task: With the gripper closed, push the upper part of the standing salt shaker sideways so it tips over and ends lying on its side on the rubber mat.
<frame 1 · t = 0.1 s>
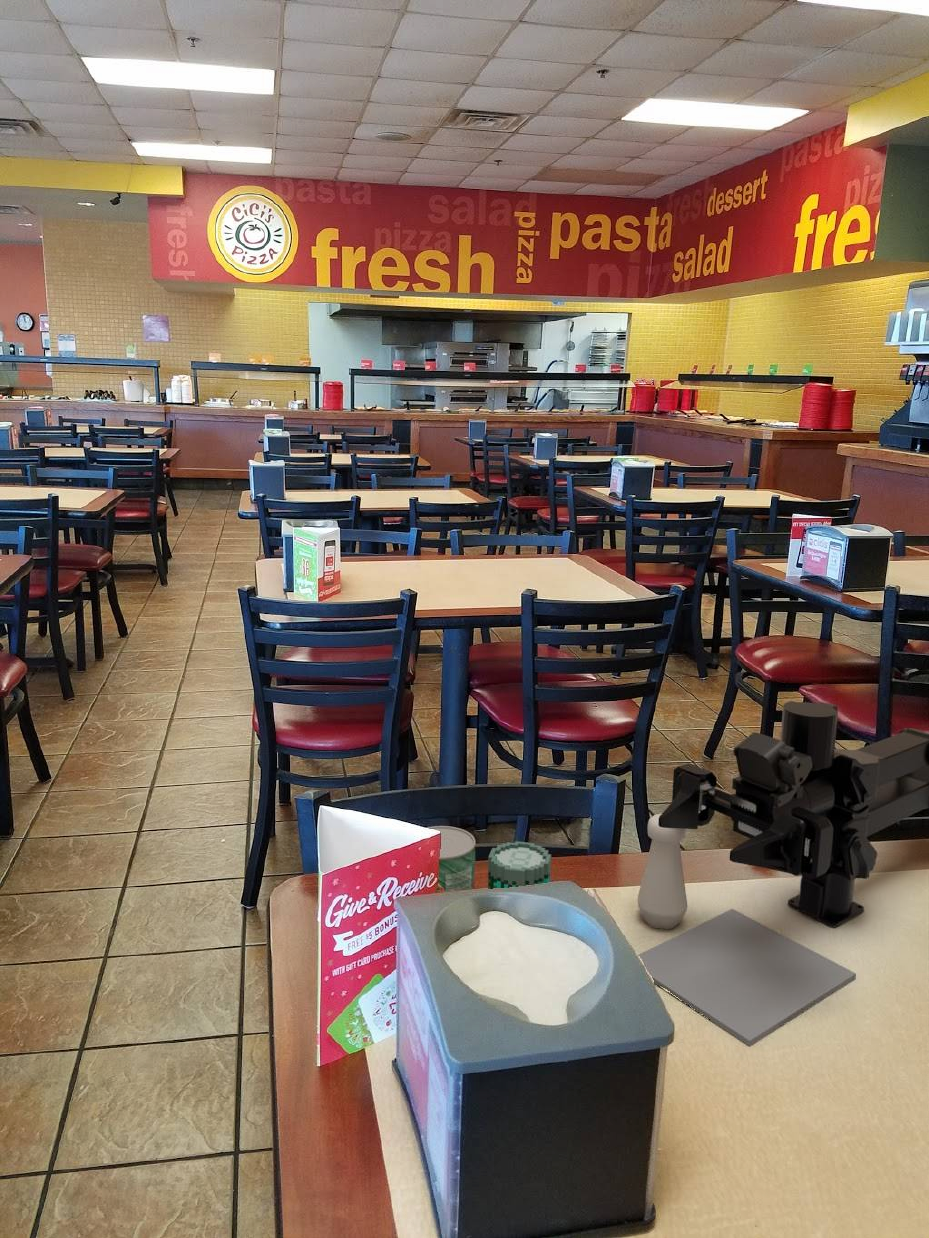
hand: (693, 838, 92), 17 cm above the table, tool horizontal, fingers open, 9 cm apart
salt shaker: (661, 921, 108), on the table
canned tomato: (441, 929, 106), on the table
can: (517, 988, 95), on the table
mat: (739, 971, 98), on the table
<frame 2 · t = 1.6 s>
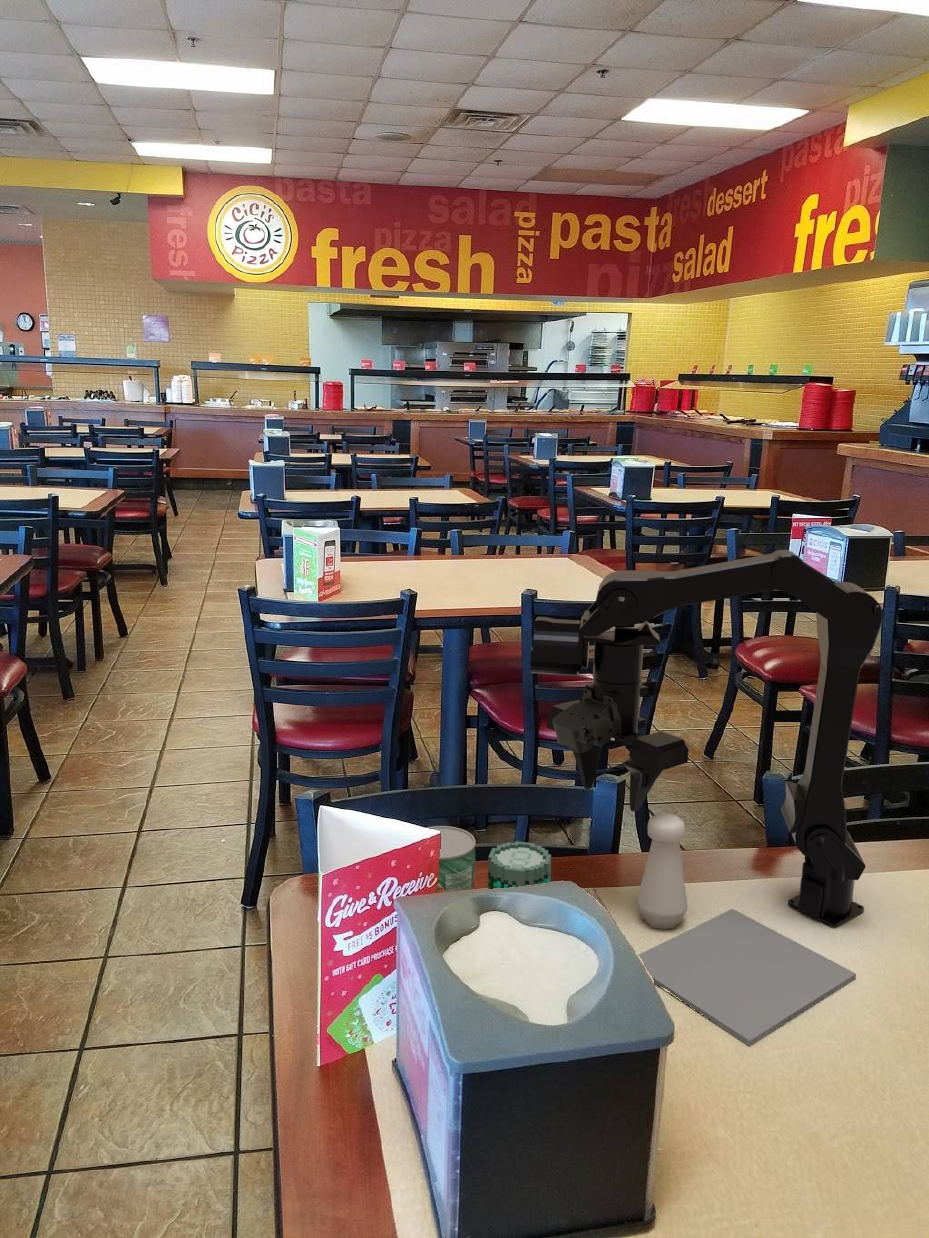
hand: (610, 799, 112), 12 cm above the table, tool pointing down, fingers open, 8 cm apart
nothing on the table moved.
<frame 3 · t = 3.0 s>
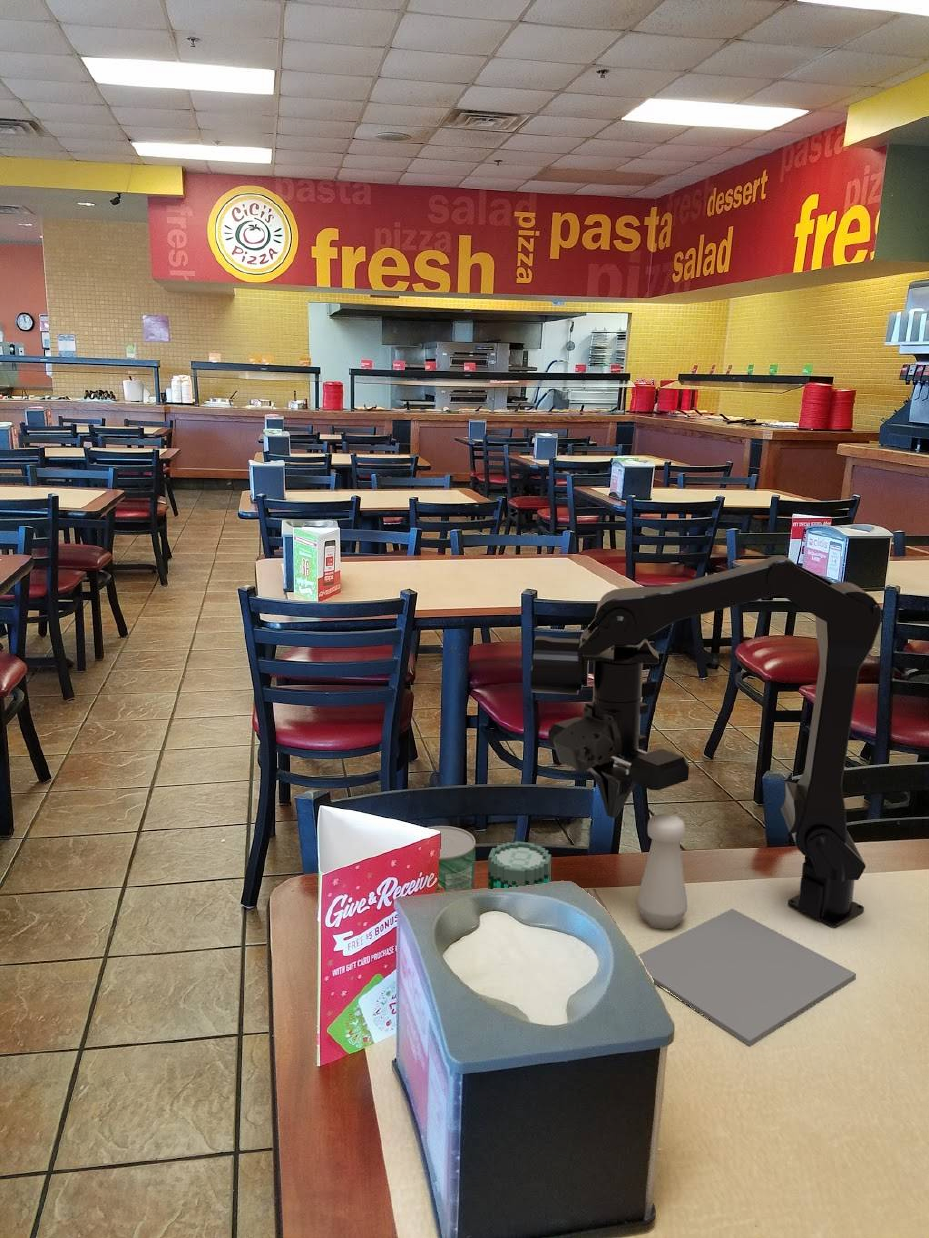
hand: (612, 816, 112), 10 cm above the table, tool pointing down, fingers closed
nothing on the table moved.
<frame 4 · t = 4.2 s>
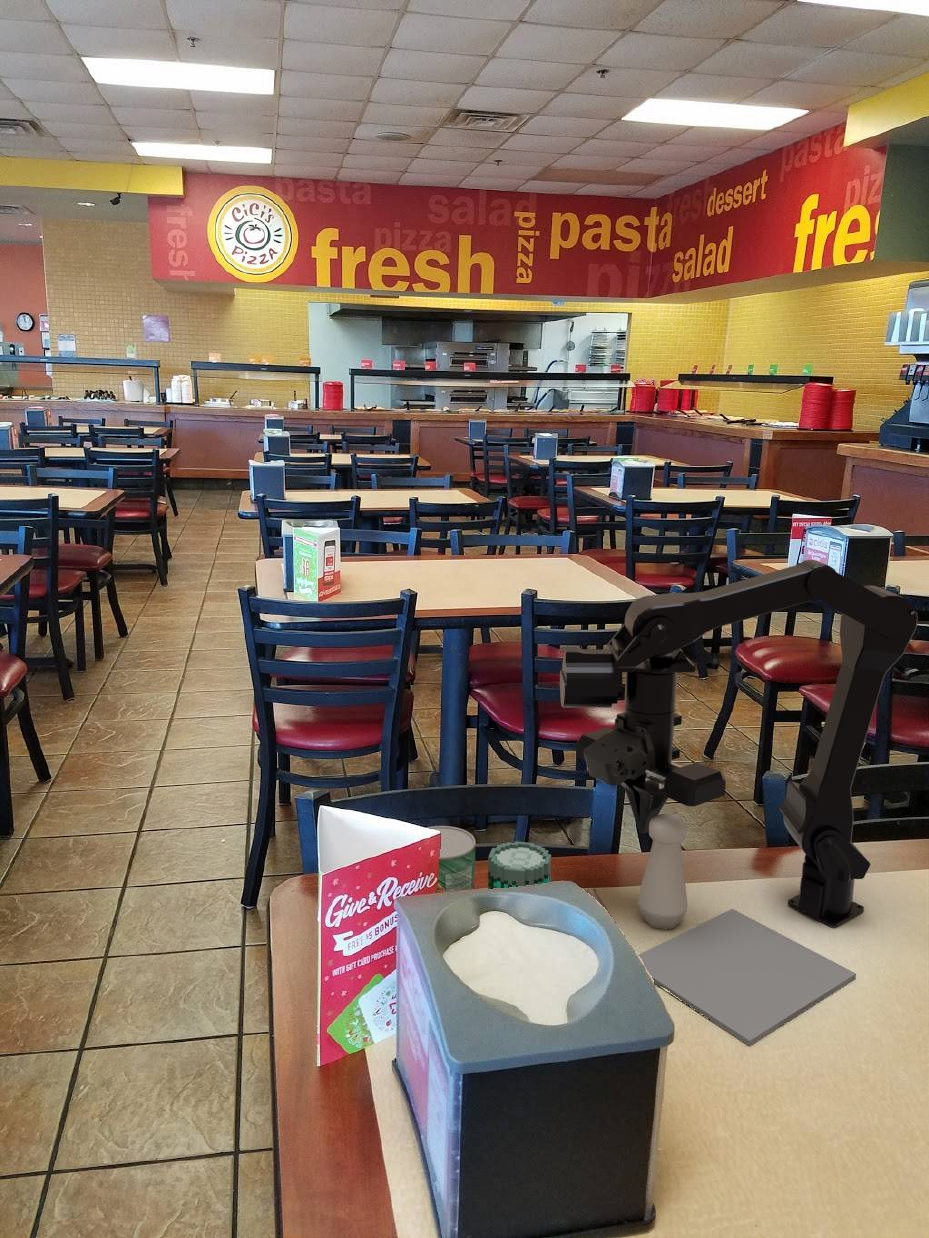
hand: (643, 831, 108), 10 cm above the table, tool pointing down, fingers closed
salt shaker: (661, 921, 108), on the table, touching gripper
everything else where it was.
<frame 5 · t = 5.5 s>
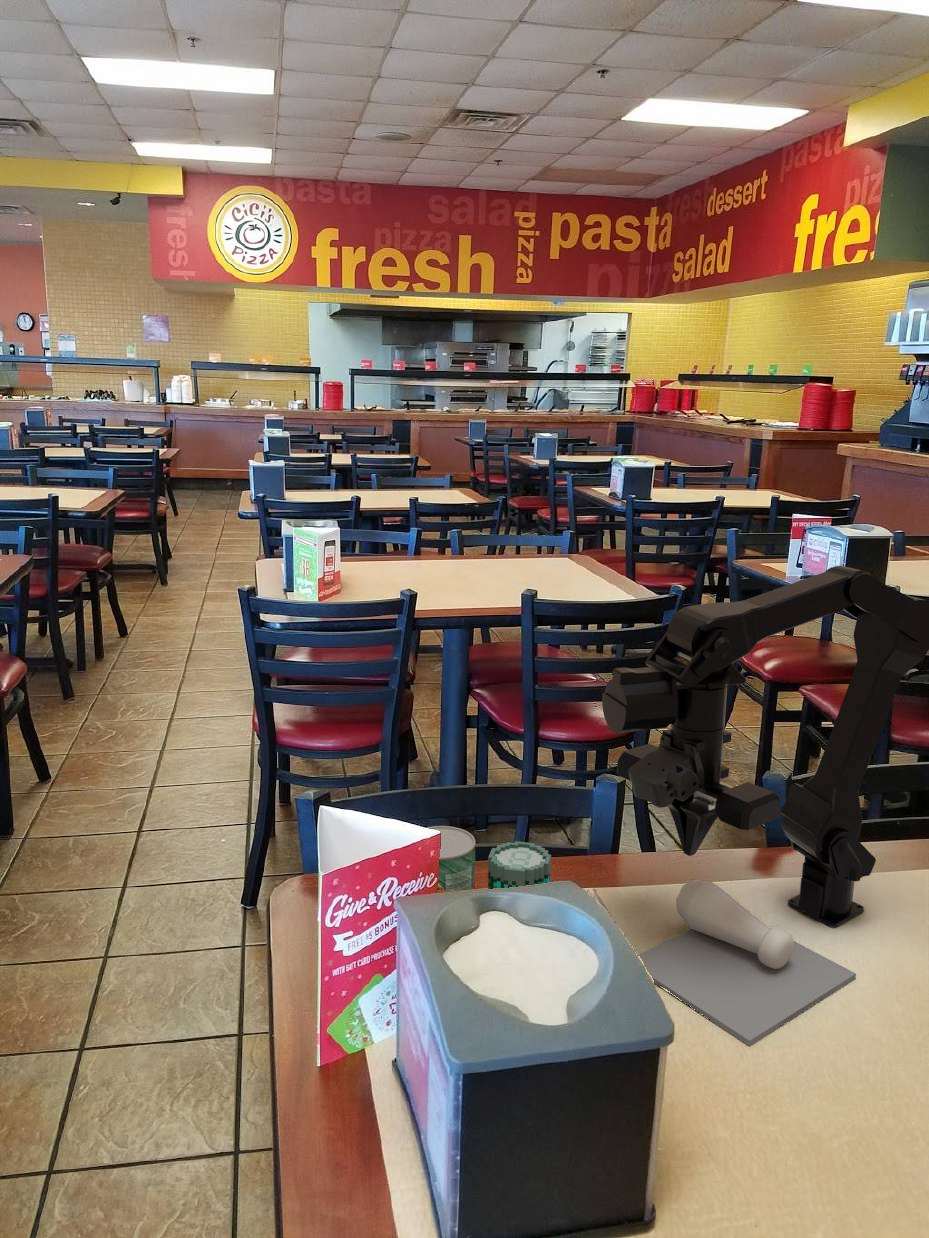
hand: (689, 854, 103), 10 cm above the table, tool pointing down, fingers closed
salt shaker: (685, 895, 106), point 4 cm above the table, touching mat
everything else where it was.
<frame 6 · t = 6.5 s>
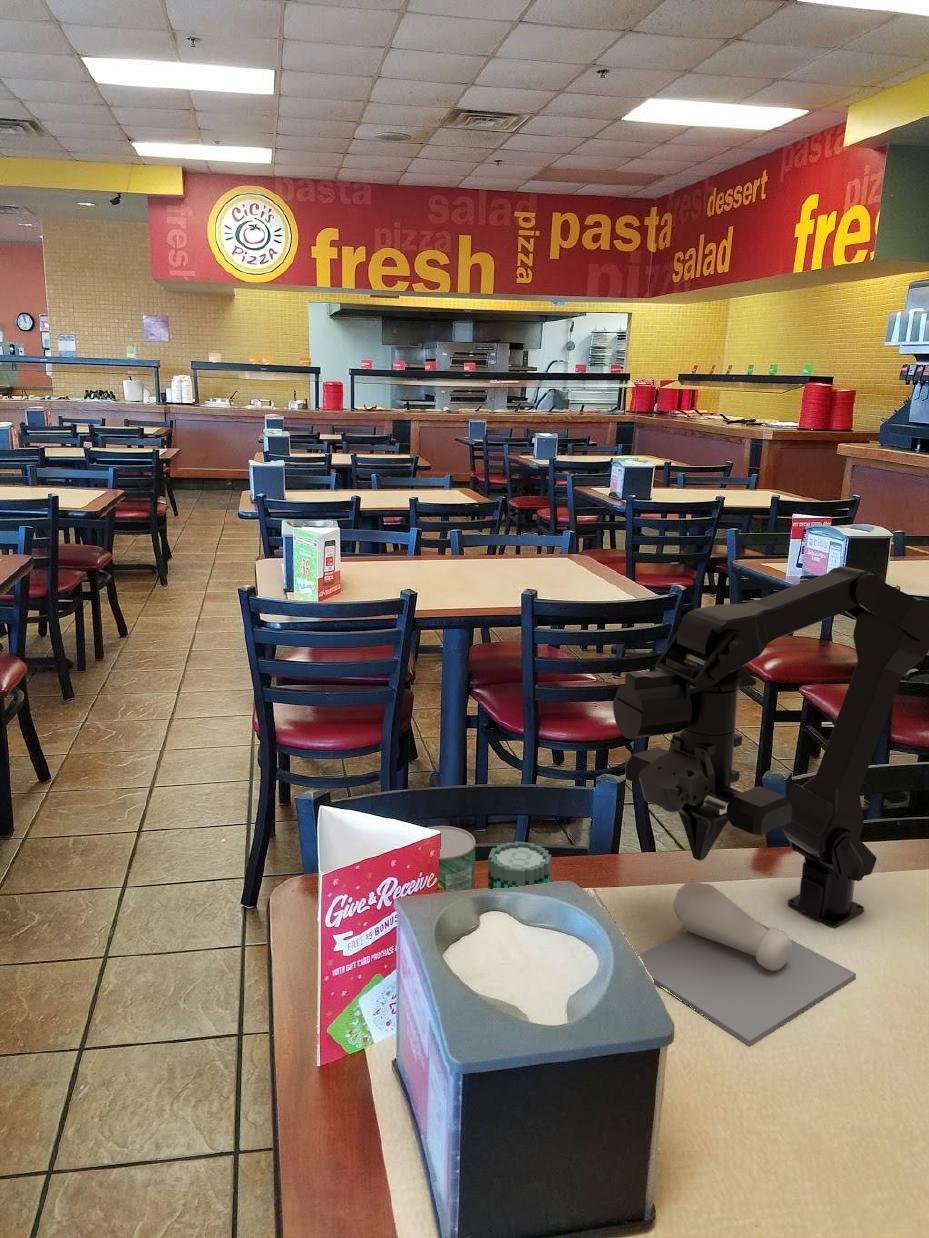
hand: (699, 858, 102), 10 cm above the table, tool pointing down, fingers closed
nothing on the table moved.
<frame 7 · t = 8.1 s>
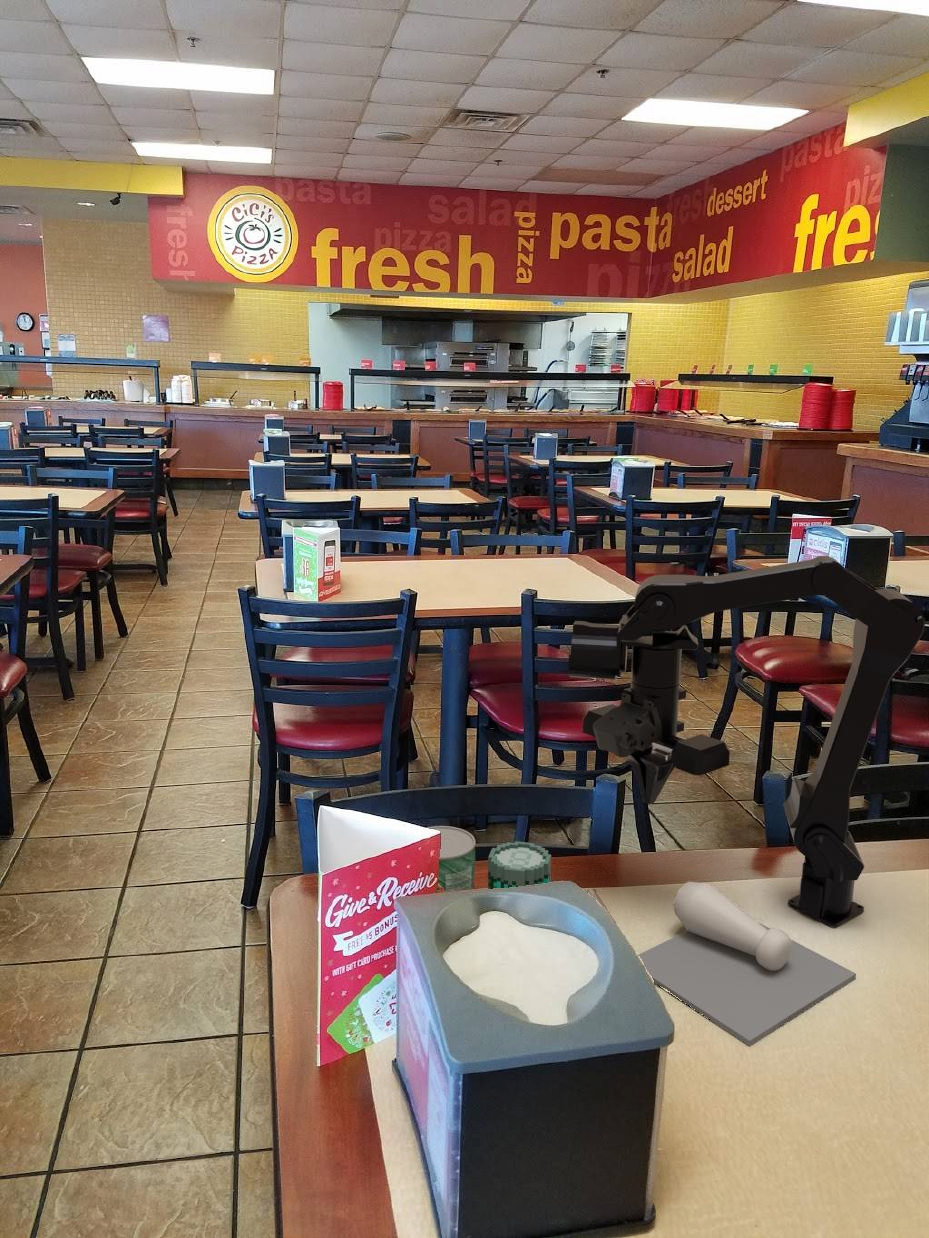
hand: (649, 802, 112), 12 cm above the table, tool pointing down, fingers closed
nothing on the table moved.
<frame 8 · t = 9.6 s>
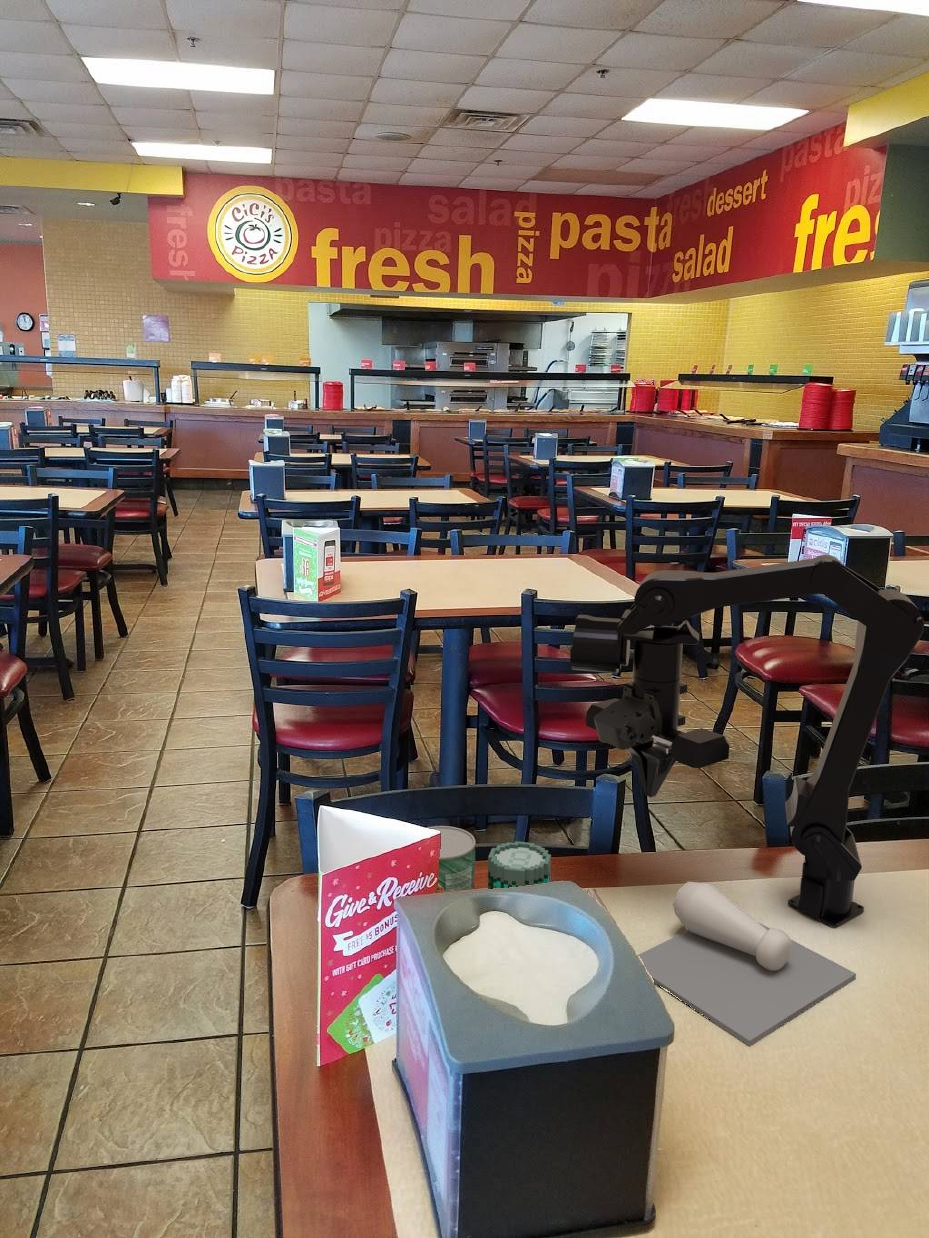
hand: (650, 795, 113), 12 cm above the table, tool pointing down, fingers closed
nothing on the table moved.
at the end: salt shaker tilted 95°; salt shaker inside the target area (5.5 cm from its centre), point 3.7 cm above the table; salt shaker touching mat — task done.
